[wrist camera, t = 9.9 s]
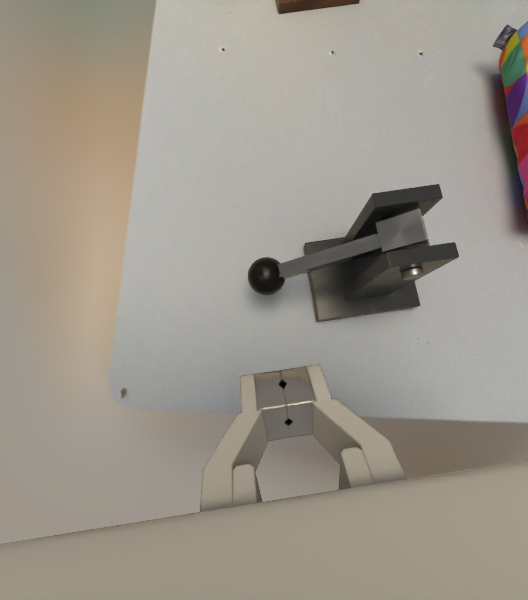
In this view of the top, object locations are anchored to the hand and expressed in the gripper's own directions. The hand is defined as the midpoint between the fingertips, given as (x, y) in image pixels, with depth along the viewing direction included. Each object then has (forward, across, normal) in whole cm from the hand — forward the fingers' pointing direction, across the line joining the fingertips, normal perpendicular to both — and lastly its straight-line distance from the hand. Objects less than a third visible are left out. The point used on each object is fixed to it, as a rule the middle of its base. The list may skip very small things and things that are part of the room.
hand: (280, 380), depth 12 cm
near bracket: (+19, -10, +8) cm, 23 cm away
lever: (+14, -6, +3) cm, 16 cm away
